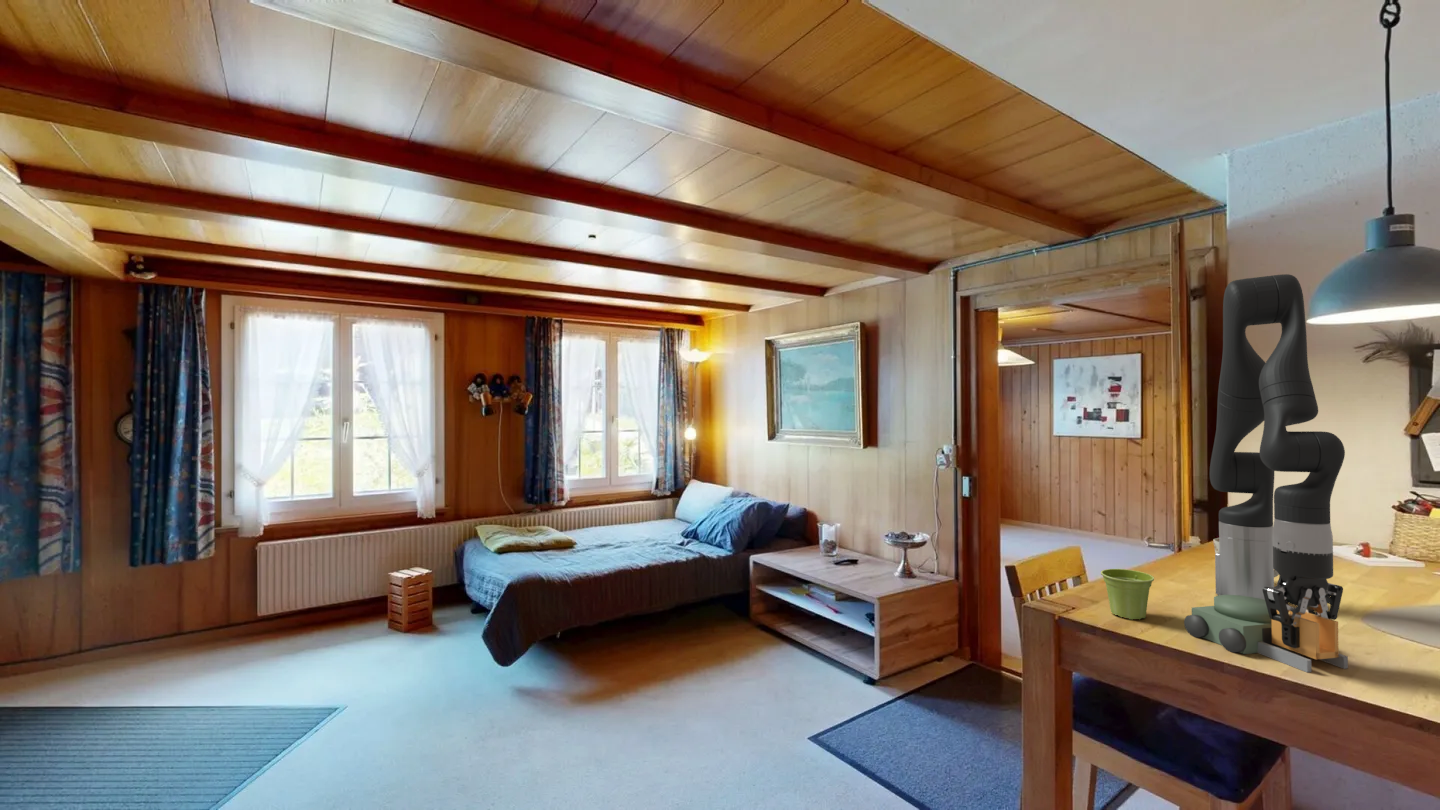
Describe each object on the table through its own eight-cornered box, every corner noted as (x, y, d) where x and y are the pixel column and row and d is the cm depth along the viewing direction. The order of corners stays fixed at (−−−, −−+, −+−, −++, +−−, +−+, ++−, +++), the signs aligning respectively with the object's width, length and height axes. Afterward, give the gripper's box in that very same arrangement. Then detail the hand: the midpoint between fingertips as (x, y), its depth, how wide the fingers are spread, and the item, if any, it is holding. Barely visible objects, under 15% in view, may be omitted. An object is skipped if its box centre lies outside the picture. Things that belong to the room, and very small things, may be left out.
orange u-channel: (1271, 643, 108) (1271, 609, 108) (1293, 641, 108) (1292, 607, 108) (1316, 659, 101) (1315, 623, 101) (1338, 657, 101) (1338, 621, 101)
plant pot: (1107, 620, 125) (1106, 579, 125) (1096, 606, 134) (1096, 567, 134) (1161, 625, 122) (1160, 582, 122) (1146, 610, 131) (1145, 570, 131)
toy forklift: (1184, 632, 118) (1183, 596, 118) (1255, 626, 120) (1255, 591, 120) (1286, 674, 100) (1285, 632, 100) (1368, 666, 102) (1367, 624, 102)
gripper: (1312, 539, 109) (1313, 634, 109) (1244, 543, 107) (1246, 640, 107) (1362, 549, 102) (1363, 650, 102) (1290, 554, 100) (1292, 657, 100)
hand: (1303, 644), depth 104 cm, fingers closed on orange u-channel, 4 cm apart
